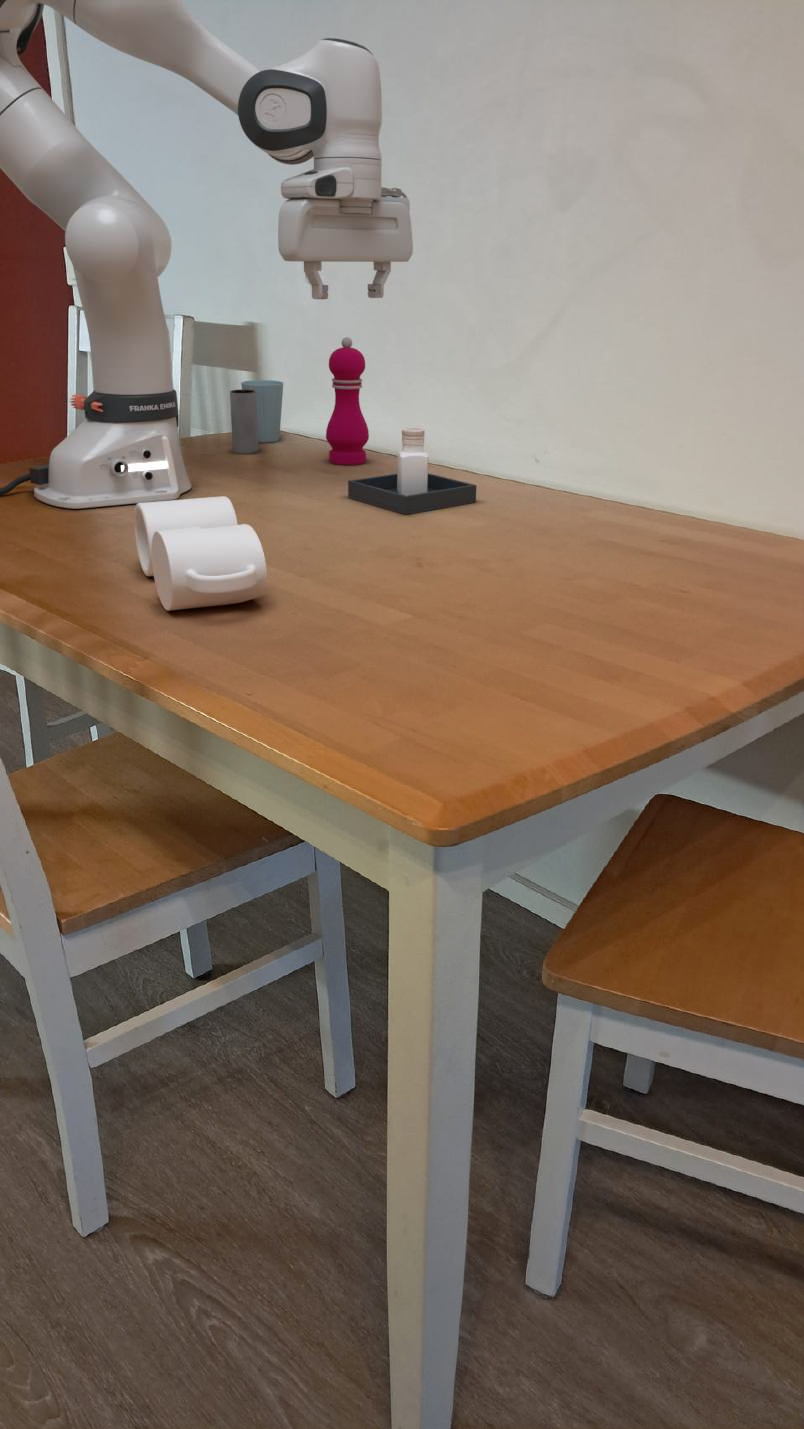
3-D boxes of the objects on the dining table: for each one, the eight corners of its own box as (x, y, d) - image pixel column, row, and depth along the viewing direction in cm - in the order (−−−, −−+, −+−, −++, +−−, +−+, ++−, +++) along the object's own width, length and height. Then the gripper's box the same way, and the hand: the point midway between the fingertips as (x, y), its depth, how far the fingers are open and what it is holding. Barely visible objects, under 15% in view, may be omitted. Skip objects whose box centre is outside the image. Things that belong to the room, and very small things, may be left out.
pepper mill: (367, 466, 177) (368, 339, 169) (324, 465, 178) (322, 338, 169) (369, 458, 184) (370, 335, 176) (328, 457, 184) (326, 335, 176)
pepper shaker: (423, 493, 157) (424, 426, 153) (427, 499, 153) (429, 431, 149) (396, 493, 156) (397, 427, 152) (400, 499, 152) (401, 431, 149)
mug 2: (152, 596, 111) (146, 520, 108) (239, 585, 115) (235, 512, 112) (183, 631, 101) (177, 549, 98) (276, 618, 105) (273, 539, 102)
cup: (251, 444, 194) (248, 385, 190) (238, 438, 201) (235, 380, 196) (290, 442, 197) (289, 383, 193) (276, 436, 204) (274, 379, 200)
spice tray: (405, 514, 146) (405, 496, 145) (348, 497, 155) (347, 480, 154) (475, 502, 154) (476, 485, 153) (417, 486, 163) (417, 470, 162)
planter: (227, 452, 187) (224, 391, 183) (242, 448, 191) (239, 388, 187) (249, 454, 185) (246, 393, 181) (263, 450, 189) (261, 390, 185)
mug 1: (242, 575, 119) (238, 504, 115) (152, 585, 115) (146, 511, 112) (213, 549, 129) (209, 482, 125) (130, 557, 125) (123, 489, 122)
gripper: (394, 189, 148) (393, 296, 153) (269, 182, 136) (273, 298, 141) (423, 188, 143) (421, 298, 149) (297, 180, 131) (300, 301, 137)
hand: (348, 298), depth 145 cm, fingers open, 8 cm apart
